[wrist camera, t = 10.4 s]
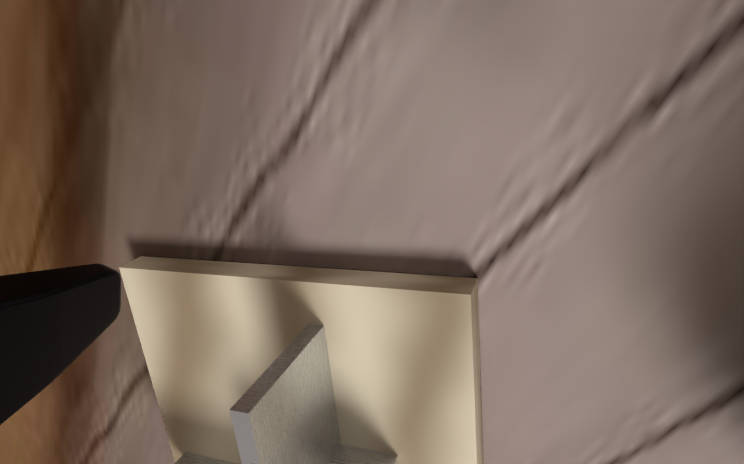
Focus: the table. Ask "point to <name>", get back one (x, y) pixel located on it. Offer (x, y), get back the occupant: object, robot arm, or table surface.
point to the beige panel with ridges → (309, 362)
